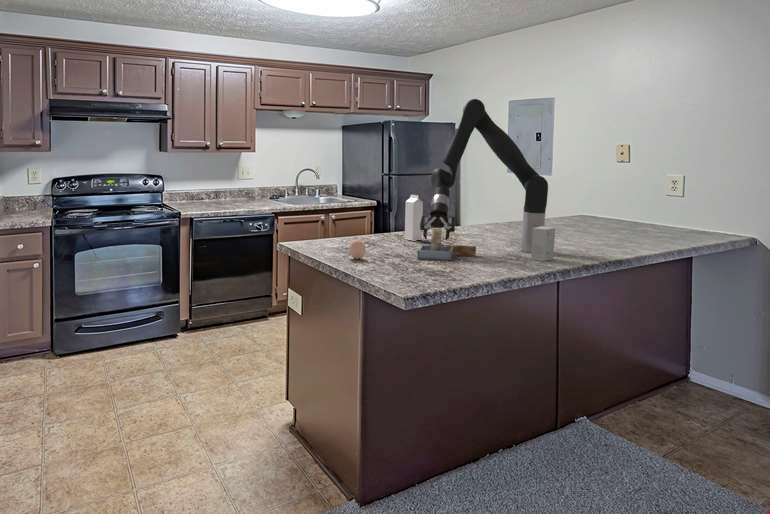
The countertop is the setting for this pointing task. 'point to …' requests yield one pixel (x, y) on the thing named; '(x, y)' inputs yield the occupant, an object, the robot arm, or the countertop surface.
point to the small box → (543, 243)
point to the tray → (434, 253)
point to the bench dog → (462, 250)
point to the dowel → (436, 239)
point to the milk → (413, 218)
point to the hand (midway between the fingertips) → (436, 238)
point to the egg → (357, 249)
